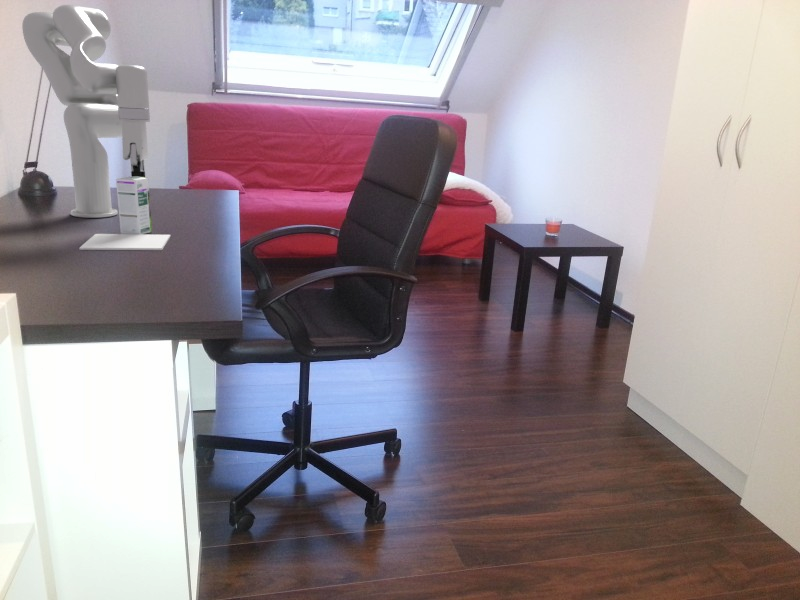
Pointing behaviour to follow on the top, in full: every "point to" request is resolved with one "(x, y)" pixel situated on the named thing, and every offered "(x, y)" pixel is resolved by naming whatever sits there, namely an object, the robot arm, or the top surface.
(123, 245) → the mat
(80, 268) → the top surface
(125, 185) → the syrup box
